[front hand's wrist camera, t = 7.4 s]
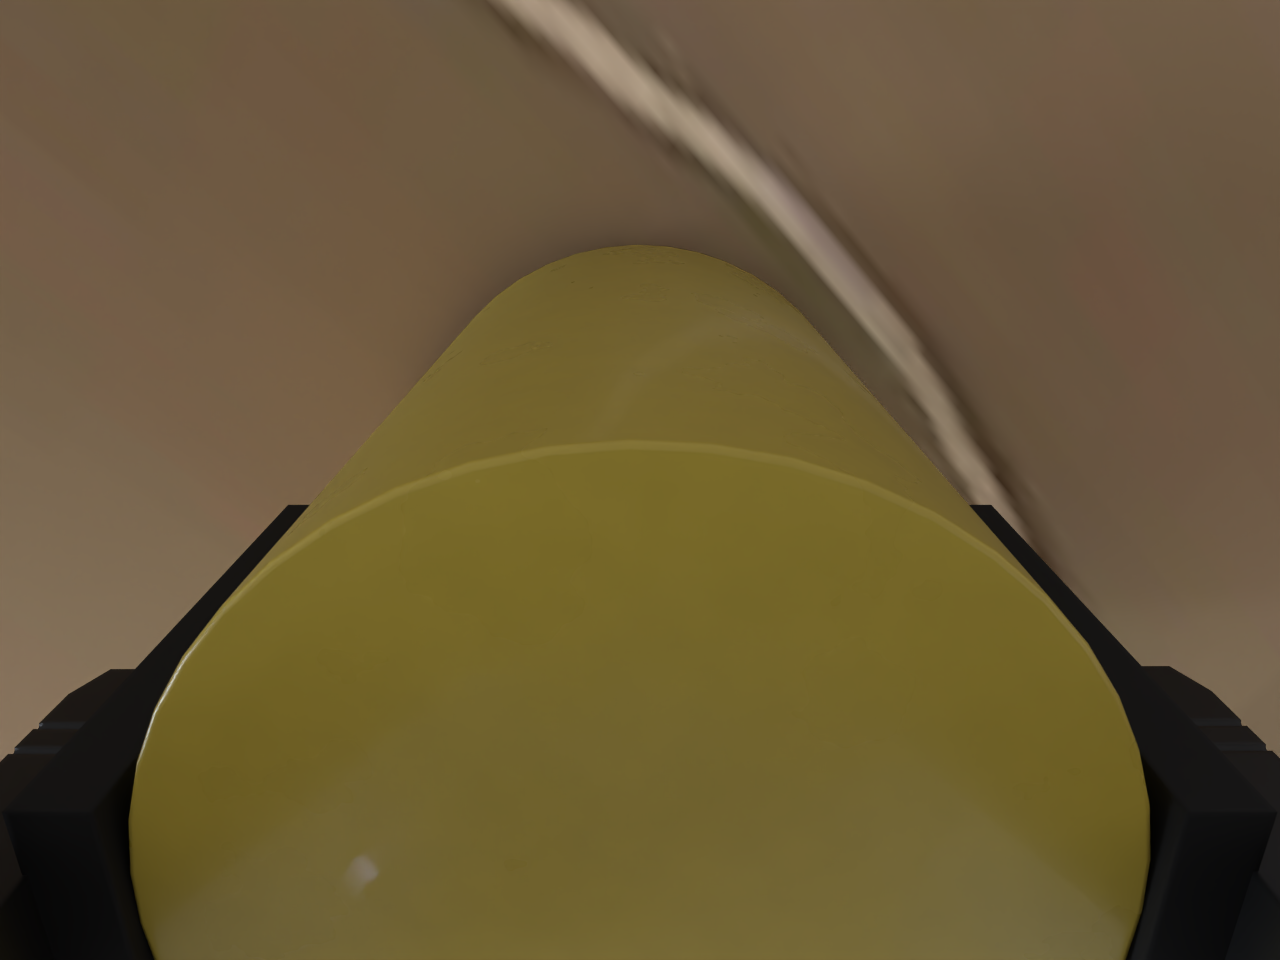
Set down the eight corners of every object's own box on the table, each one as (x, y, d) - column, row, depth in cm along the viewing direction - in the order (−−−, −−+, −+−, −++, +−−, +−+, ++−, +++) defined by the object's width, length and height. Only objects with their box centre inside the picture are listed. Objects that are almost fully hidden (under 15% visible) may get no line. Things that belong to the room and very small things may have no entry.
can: (896, 273, 18) (1321, 511, 7) (811, 667, 21) (1000, 1261, 10) (431, 217, 17) (66, 374, 6) (419, 627, 20) (166, 1201, 10)
